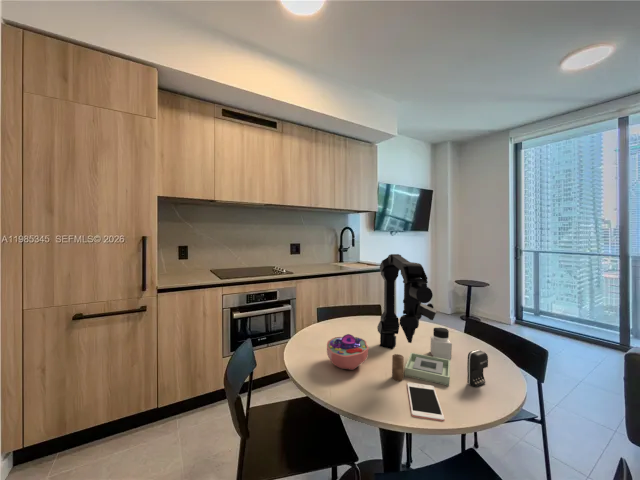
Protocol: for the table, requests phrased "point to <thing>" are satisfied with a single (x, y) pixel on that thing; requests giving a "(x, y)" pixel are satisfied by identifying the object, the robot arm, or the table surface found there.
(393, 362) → the peg
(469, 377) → the battery charger
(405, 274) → the robot arm
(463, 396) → the table surface
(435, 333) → the medicine bottle
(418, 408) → the cell phone
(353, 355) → the cell model
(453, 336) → the table surface
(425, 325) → the table surface
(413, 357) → the tray
